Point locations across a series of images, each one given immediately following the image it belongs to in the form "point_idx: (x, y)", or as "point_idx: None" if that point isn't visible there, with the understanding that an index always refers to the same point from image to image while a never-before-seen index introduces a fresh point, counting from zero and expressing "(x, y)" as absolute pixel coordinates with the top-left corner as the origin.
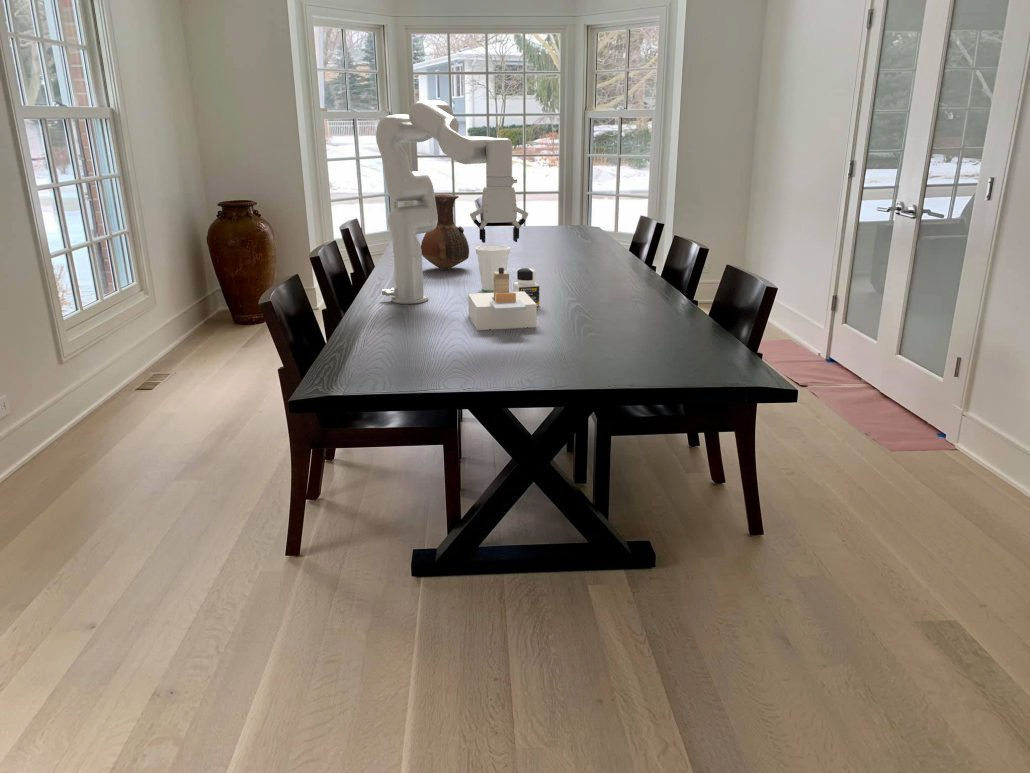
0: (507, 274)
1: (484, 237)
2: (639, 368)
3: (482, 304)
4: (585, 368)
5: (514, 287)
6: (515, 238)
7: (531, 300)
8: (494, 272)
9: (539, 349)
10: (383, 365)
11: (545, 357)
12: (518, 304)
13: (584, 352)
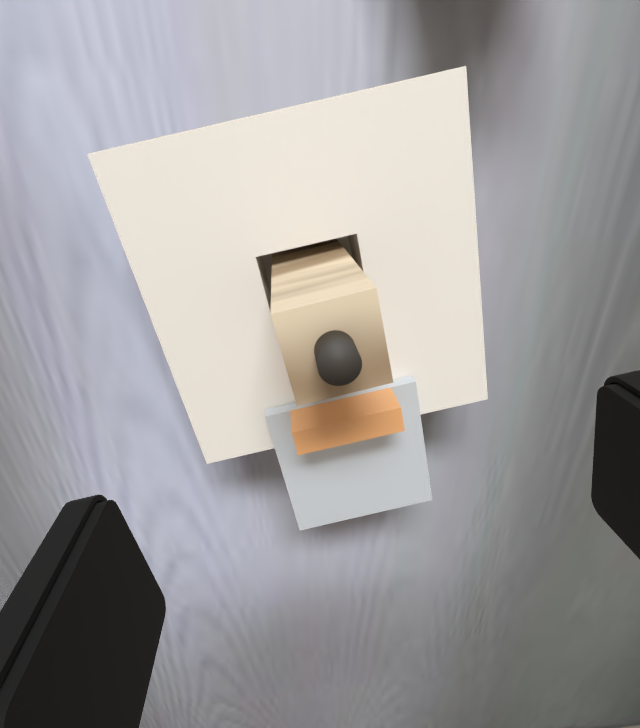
0: (380, 382)
1: (136, 689)
2: (623, 660)
3: (227, 416)
4: (510, 671)
5: None
6: (632, 539)
7: (475, 327)
8: (280, 335)
9: (427, 574)
10: None
11: (434, 624)
12: (402, 467)
13: (540, 584)
